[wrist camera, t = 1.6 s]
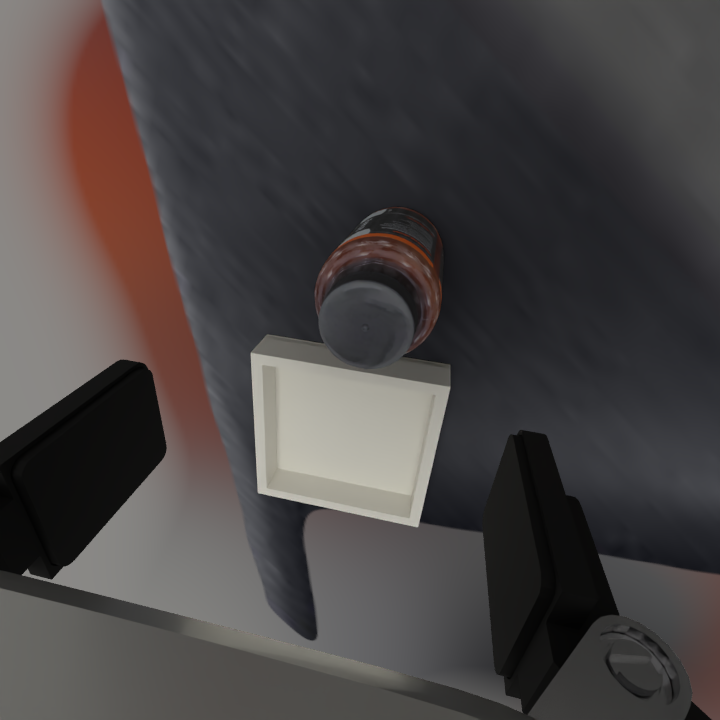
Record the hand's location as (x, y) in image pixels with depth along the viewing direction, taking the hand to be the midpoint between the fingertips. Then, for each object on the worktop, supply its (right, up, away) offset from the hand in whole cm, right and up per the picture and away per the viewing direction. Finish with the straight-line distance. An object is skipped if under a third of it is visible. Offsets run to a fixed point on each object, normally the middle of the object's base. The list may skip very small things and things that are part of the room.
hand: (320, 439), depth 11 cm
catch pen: (0, -3, +23) cm, 23 cm away
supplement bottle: (+3, +9, +16) cm, 18 cm away
